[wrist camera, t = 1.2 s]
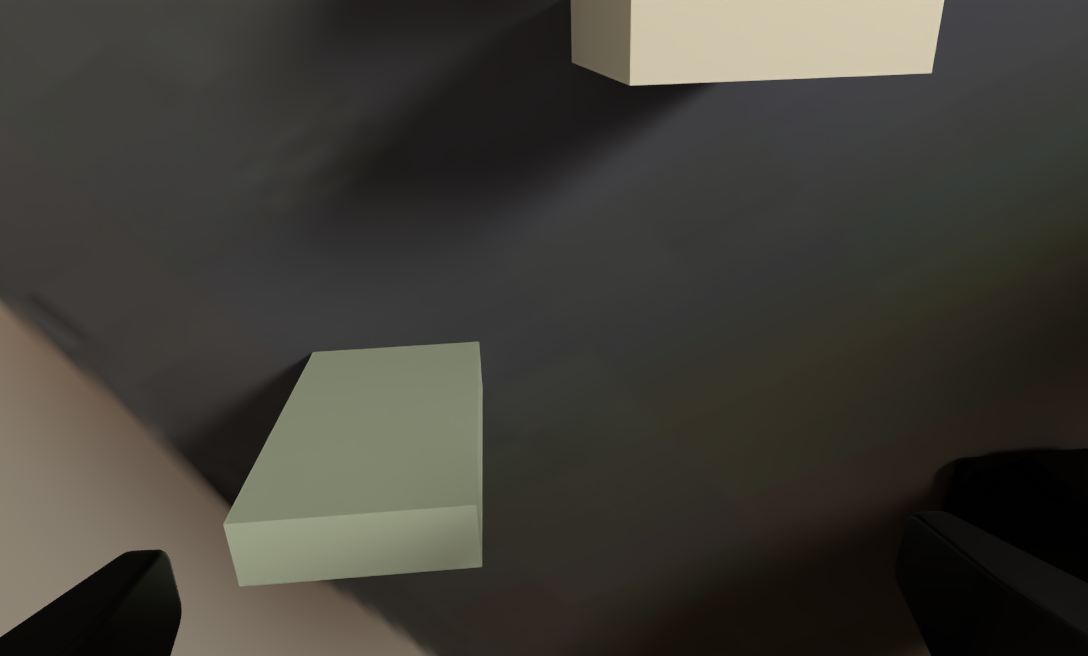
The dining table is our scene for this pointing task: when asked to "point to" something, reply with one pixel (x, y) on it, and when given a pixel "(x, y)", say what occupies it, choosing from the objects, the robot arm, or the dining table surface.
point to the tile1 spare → (367, 470)
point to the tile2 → (752, 39)
